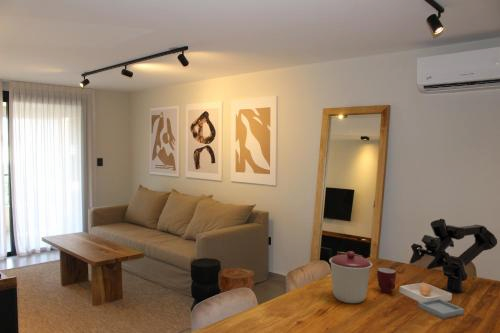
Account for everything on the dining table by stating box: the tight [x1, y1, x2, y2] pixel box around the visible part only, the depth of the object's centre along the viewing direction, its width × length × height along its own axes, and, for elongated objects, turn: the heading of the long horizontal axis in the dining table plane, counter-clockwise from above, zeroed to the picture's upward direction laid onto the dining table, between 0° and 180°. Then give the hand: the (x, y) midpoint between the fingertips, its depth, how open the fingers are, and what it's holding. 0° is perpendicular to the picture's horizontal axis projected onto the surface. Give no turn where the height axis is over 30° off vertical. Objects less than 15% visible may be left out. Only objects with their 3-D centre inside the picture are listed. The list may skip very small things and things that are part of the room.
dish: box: [398, 282, 453, 302], centre depth 175 cm, size 15×15×3 cm
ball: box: [419, 283, 431, 296], centre depth 175 cm, size 5×5×5 cm
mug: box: [376, 267, 397, 294], centre depth 178 cm, size 10×8×10 cm
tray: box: [417, 298, 465, 320], centre depth 159 cm, size 12×12×2 cm
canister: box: [329, 250, 373, 304], centre depth 169 cm, size 18×18×21 cm
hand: (418, 265), depth 173 cm, fingers open, 9 cm apart
